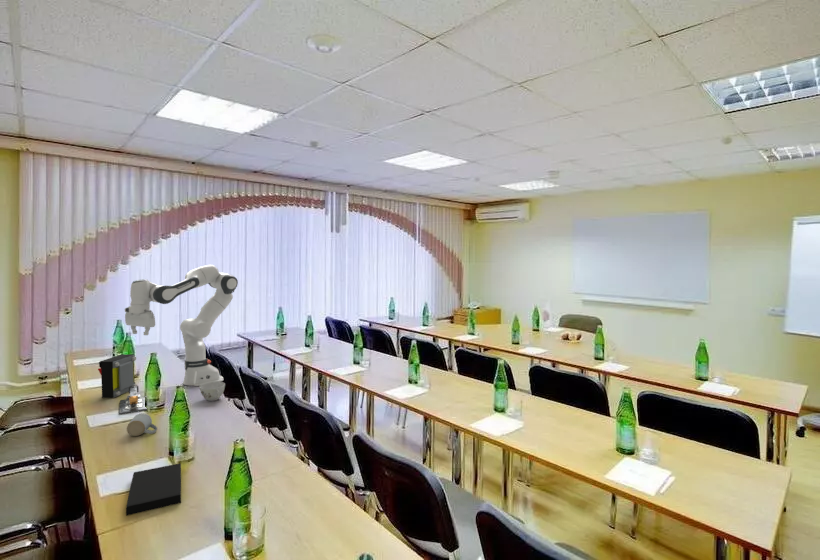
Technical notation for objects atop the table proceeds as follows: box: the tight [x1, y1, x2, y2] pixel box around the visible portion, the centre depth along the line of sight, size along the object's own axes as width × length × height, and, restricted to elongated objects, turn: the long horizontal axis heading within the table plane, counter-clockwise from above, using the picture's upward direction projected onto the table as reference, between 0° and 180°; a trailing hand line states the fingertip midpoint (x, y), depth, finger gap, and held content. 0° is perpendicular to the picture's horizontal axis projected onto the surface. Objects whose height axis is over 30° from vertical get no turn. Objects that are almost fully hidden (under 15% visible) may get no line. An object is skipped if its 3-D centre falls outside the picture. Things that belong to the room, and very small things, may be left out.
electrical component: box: [97, 353, 138, 399], centre depth 239 cm, size 18×10×20 cm, turn 179°
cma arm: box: [128, 385, 139, 404], centre depth 223 cm, size 25×4×3 cm, turn 33°
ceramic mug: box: [126, 412, 158, 437], centre depth 184 cm, size 11×8×8 cm
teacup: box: [199, 381, 226, 402], centre depth 228 cm, size 15×12×8 cm
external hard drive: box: [125, 462, 182, 516], centre depth 138 cm, size 14×23×3 cm, turn 28°
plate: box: [118, 396, 148, 415], centre depth 218 cm, size 12×22×1 cm, turn 33°
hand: (140, 334), depth 232 cm, fingers open, 8 cm apart
